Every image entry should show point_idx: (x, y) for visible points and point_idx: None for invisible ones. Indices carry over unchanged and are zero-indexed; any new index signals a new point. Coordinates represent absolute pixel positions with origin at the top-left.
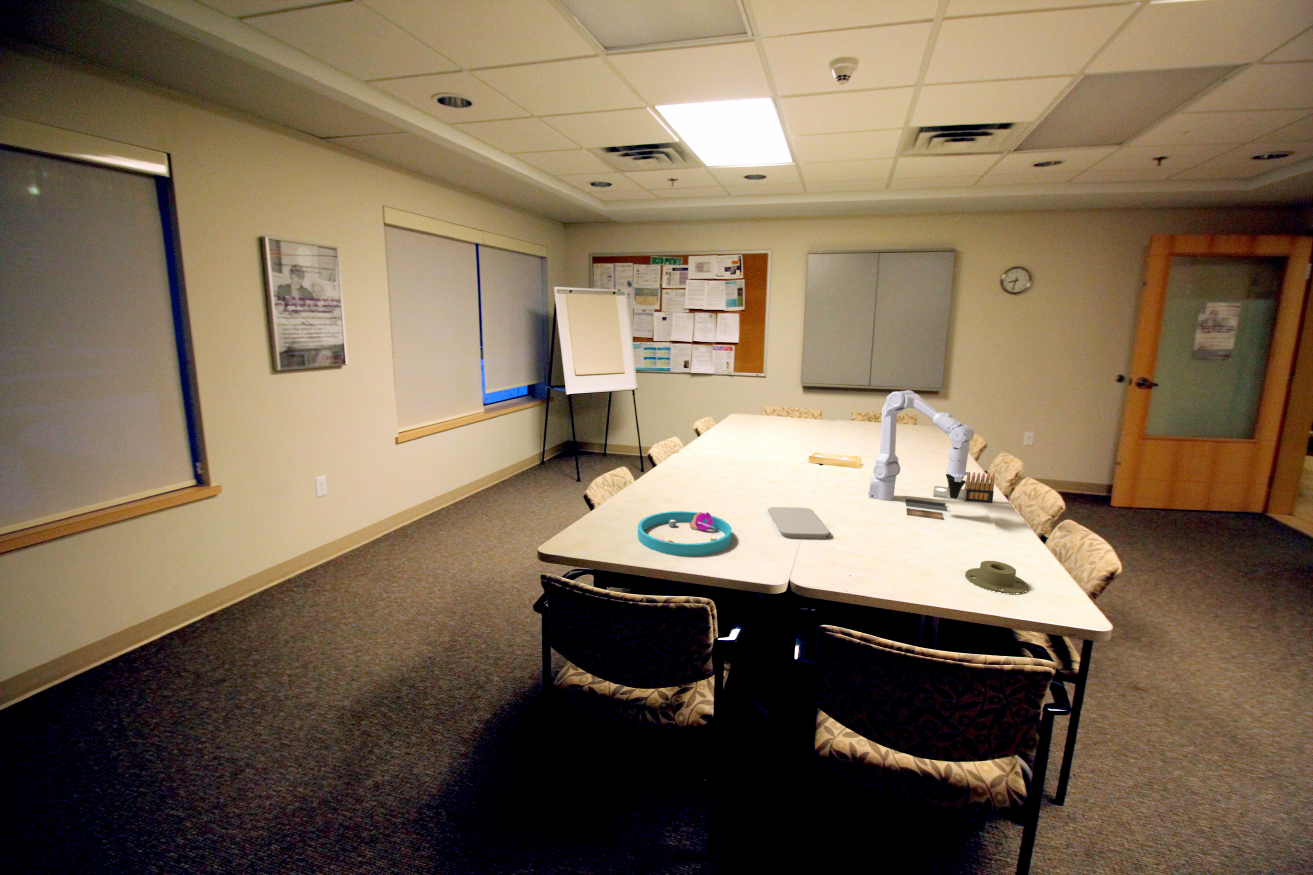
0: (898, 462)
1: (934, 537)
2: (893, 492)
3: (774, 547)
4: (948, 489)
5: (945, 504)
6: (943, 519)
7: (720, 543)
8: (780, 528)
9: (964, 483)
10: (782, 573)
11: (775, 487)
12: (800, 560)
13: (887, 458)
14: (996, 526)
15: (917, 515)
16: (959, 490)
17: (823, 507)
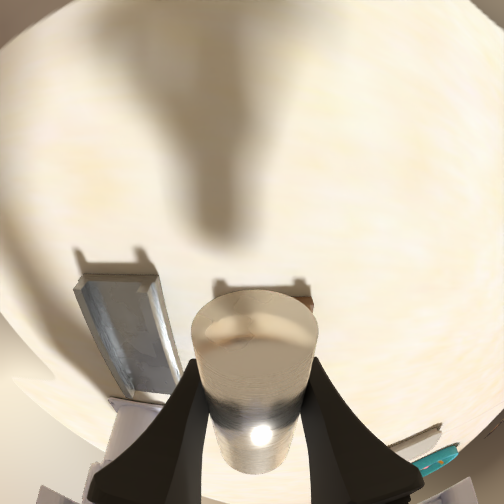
0: (86, 501)
1: (458, 315)
2: (141, 431)
3: (452, 435)
4: (283, 441)
5: (82, 287)
6: (309, 305)
7: (452, 451)
8: (418, 456)
9: (417, 469)
10: (500, 404)
11: (203, 486)
12: (485, 410)
13: None
14: (259, 42)
15: None
16: (351, 414)
17: (284, 466)
